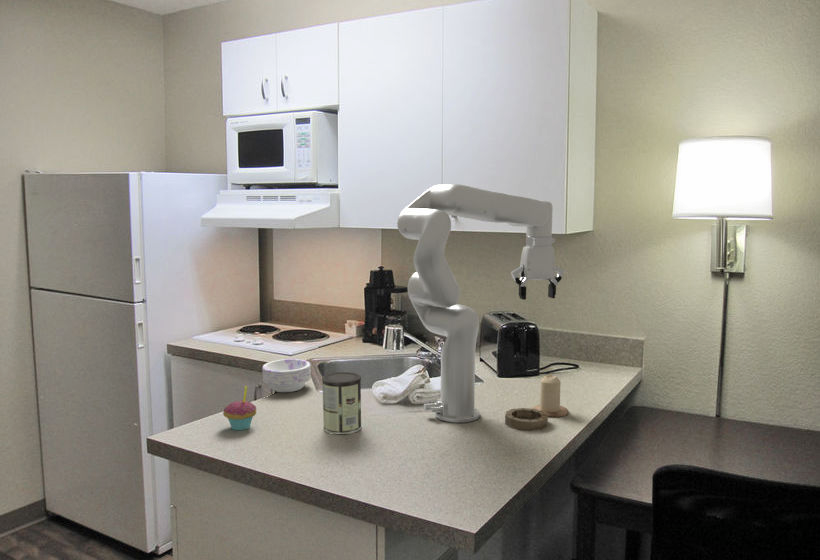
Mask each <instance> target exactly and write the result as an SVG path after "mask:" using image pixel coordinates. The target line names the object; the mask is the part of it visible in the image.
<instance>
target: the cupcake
mask: <svg viewBox="0 0 820 560" xmlns="http://www.w3.org/2000/svg"><path fill="white" fill-rule="evenodd" d="M243 392H244V393H243V399H241V400H237V401H233V402H231V403H229V404H227V405H226V407H224V408H223V411H222V415H223V416H224V417H225V418H227V420H228V422H229V424H230V427H231V429H232V430H233V431H245V430H248V429H249V428H250V427H251V424H252V420H253V418H254V417H255V416H256V414H257V407H256V405H255V404H254V403H253V402H250V401H247V393H248V383H246V385H245V386H244V390H243Z"/></svg>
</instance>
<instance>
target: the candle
mask: <svg viewBox="0 0 820 560" xmlns="http://www.w3.org/2000/svg"><path fill="white" fill-rule="evenodd" d="M539 393H540V395H539V396H540V398H539V399H540V400H539V402H540V404H539V405H540V409H541V410H542V411H544V412H551V413H553V412H558V411H559V410H560V406H561V380H560V379H559V377H558V376H556V375H553V374H548V375H544V377H542V378H541V379H540V392H539Z"/></svg>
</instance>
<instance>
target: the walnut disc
mask: <svg viewBox="0 0 820 560" xmlns="http://www.w3.org/2000/svg"><path fill="white" fill-rule="evenodd" d="M532 409H536V410H540V411H542V410H541V409H540V404H538V405H535V406H533V407H532ZM543 412H544V411H543ZM545 413H546V414H548V418H562V417H566V416H568V414H569V409H568V408H567V407H564V406H562V405H560V410H559V411H558V412H553V413H551V412H545Z"/></svg>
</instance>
